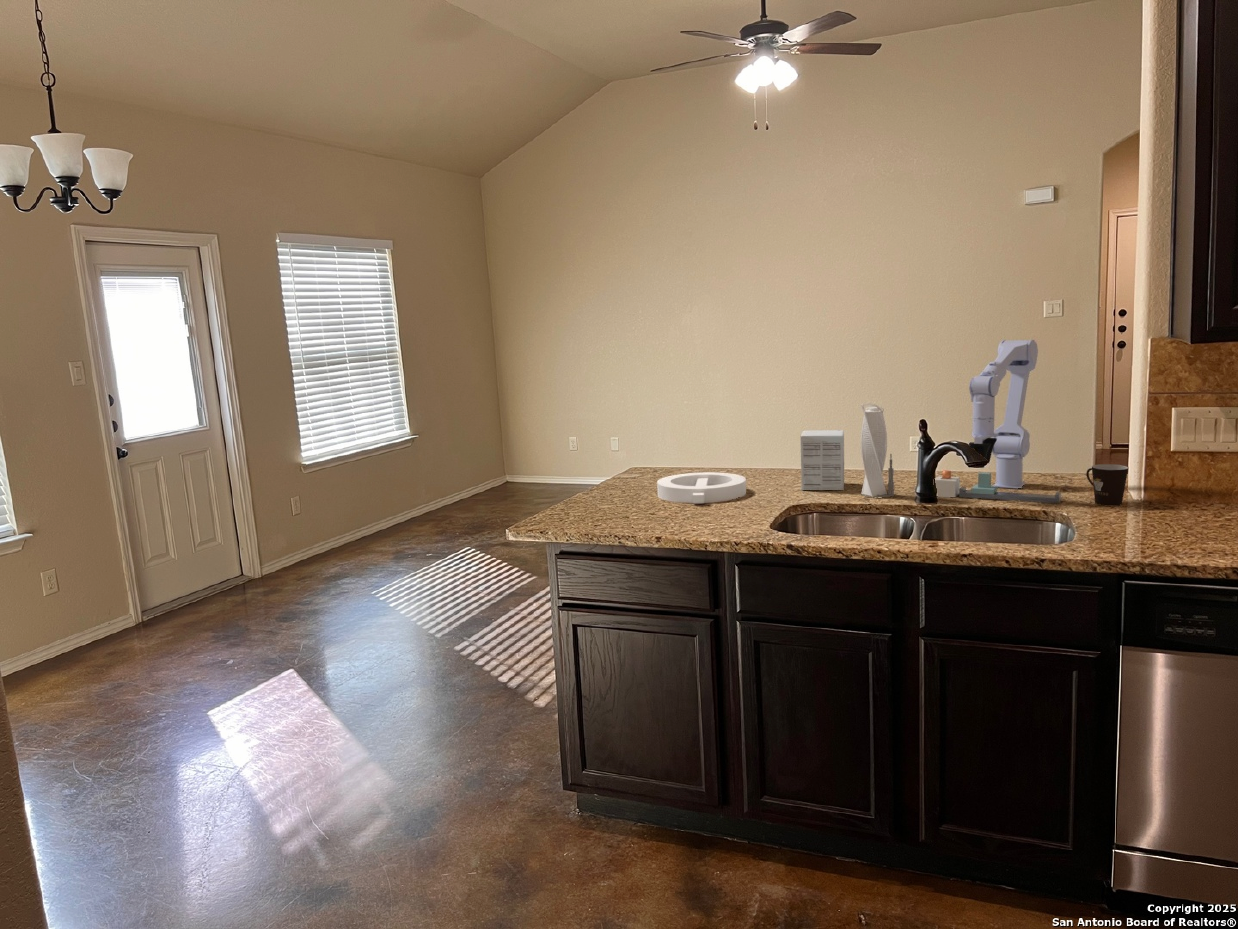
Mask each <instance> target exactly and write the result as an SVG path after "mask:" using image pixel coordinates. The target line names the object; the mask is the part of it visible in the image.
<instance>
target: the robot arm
mask: <svg viewBox="0 0 1238 929" xmlns="http://www.w3.org/2000/svg"><path fill="white" fill-rule="evenodd" d="M1038 354H1039V349H1038V344H1037V342H1036V341H1035V339H1028V340H1027V339H1026V340H1025V339H1023V340H1017V339H1016V340H1006V339H1003V340H1001V341H1000V342H999V343H998V347H997V356H996V358H995V360H994V361H990V362H989V363H988V364H987V365H986V366H985V368H984V369H983V370H982V371H981V373H980V374H979V375H974V377H972V378H971V380H970V383H969V387H968V390H969V393H970V401H971V403H972V430H971V431H972V433H971V437H972V438H974V441H973V442H972V441H971V442H968V447H969V446H970V447H971V448H974V449H975V450H976V451H977V452H978V453H979V454H981V455H982V456H983V457H985V458H986V459H987V460H988V462H987V463H986V464H990V461H991V458H992V455H993V457H994V458H996V468H995V475H996V476H995V483H994V484H993V485H995V486H998V488H1001V489H1018V488H1021V489H1023V487H1024V486H1025V485H1026V483H1027V482H1026V481H1023V470H1024V468H1023V466H1024V464H1023V463H1024V462H1023V460H1024V459H1023V458H1025V457H1026V456H1027V455H1028V454H1029V453H1030V452H1029V451H1030V449H1031V448H1030V432H1029V431H1028V430H1026V429H1025V427H1023V426H1022V424H1023V423H1022V422H1023V416H1024V415H1023V414H1024V408H1025V401H1026V396H1027V390H1028V383H1029V377H1030V372H1032V371H1033V370H1035V369H1036V365H1037V362H1038ZM1007 371H1009V372H1010V374H1011V375H1010V379H1009V387H1008V392H1007V393H1008V394H1007V399H1006V406H1005V410H1004V411H1005V412H1004V419H1003V423H1002V424H1001V425H1000V426H998V427H997V428H995V408H996V407H995V405H996V404H995V399H996V396H997V395H998V393H999V389H1000V386H1001V382H1002V381H1003V379H1004V378H1005V376H1007ZM970 447H969V448H970ZM971 448H970V449H971ZM975 468H981V469H983V468H985V466H981V467H976V466H975ZM1023 485H1024V486H1023ZM1022 486H1023V487H1022Z"/></svg>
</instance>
